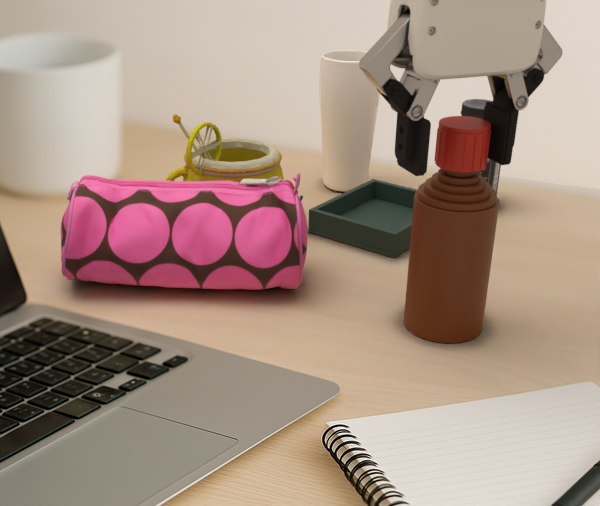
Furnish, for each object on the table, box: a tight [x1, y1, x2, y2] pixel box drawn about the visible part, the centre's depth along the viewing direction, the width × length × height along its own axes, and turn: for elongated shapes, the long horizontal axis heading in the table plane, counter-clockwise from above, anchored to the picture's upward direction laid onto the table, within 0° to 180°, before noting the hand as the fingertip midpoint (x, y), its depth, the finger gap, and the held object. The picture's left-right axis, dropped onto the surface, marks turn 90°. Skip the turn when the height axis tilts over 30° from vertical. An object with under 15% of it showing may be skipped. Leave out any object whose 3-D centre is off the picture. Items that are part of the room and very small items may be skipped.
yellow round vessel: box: [164, 113, 285, 182], centre depth 83 cm, size 13×11×12 cm
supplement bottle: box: [460, 98, 502, 194], centre depth 90 cm, size 6×6×11 cm
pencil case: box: [60, 172, 308, 291], centre depth 72 cm, size 21×10×10 cm, turn 92°
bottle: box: [403, 167, 500, 344], centre depth 64 cm, size 6×6×16 cm
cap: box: [433, 115, 491, 173], centre depth 61 cm, size 4×4×3 cm
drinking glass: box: [319, 49, 381, 193], centre depth 94 cm, size 7×7×15 cm
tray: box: [307, 178, 418, 259], centre depth 86 cm, size 12×10×2 cm
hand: (453, 162), depth 61 cm, fingers open, 6 cm apart
